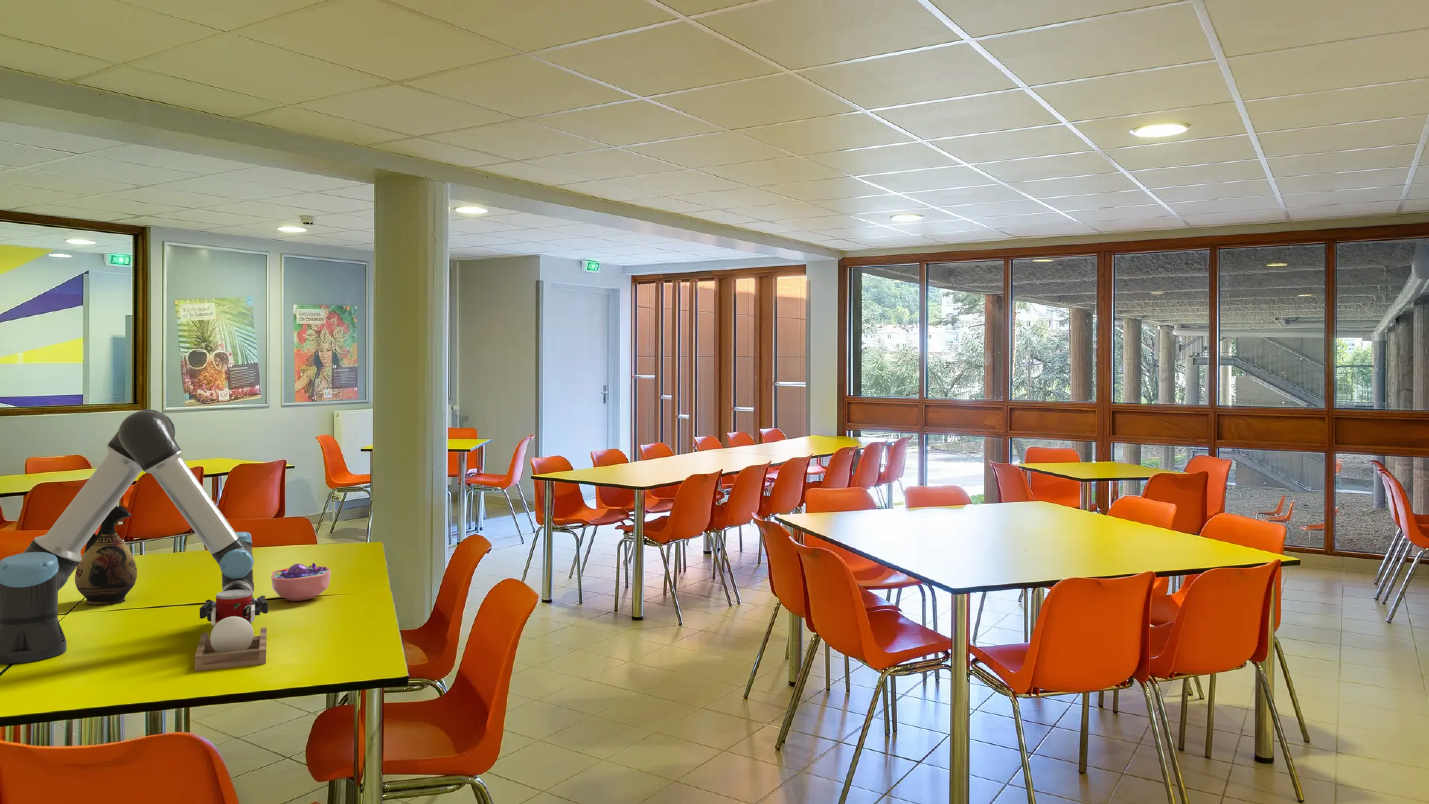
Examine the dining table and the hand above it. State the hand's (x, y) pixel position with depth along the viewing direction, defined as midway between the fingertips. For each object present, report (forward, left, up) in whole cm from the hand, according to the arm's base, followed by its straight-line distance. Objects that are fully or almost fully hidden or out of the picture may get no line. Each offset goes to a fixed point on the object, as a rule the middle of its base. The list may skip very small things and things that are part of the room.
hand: (233, 617), depth 221 cm
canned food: (+3, +3, -6) cm, 8 cm away
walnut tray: (-1, -1, -9) cm, 9 cm away
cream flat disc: (-4, -4, -7) cm, 10 cm away
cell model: (+51, +28, -9) cm, 59 cm away
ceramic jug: (+26, +78, -9) cm, 83 cm away
